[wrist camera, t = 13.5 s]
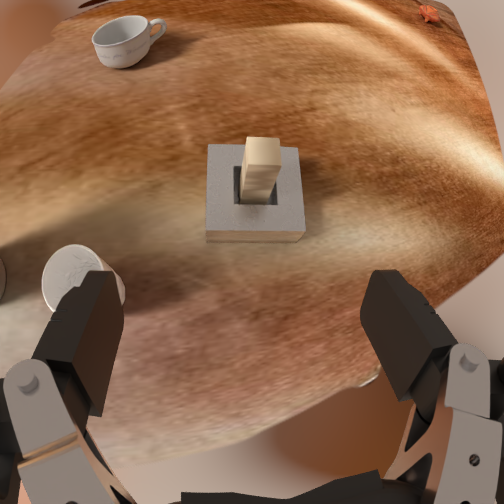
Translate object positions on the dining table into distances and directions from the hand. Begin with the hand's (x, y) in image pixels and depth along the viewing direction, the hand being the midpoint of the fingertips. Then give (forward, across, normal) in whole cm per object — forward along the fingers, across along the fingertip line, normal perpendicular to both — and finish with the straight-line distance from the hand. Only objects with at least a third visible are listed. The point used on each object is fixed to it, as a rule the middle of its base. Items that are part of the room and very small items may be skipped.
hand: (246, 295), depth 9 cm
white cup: (+24, +16, +19) cm, 35 cm away
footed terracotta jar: (+85, -64, -41) cm, 114 cm away
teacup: (+56, +18, -12) cm, 60 cm away
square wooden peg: (+33, -4, +9) cm, 34 cm away
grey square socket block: (+33, -4, +10) cm, 35 cm away
